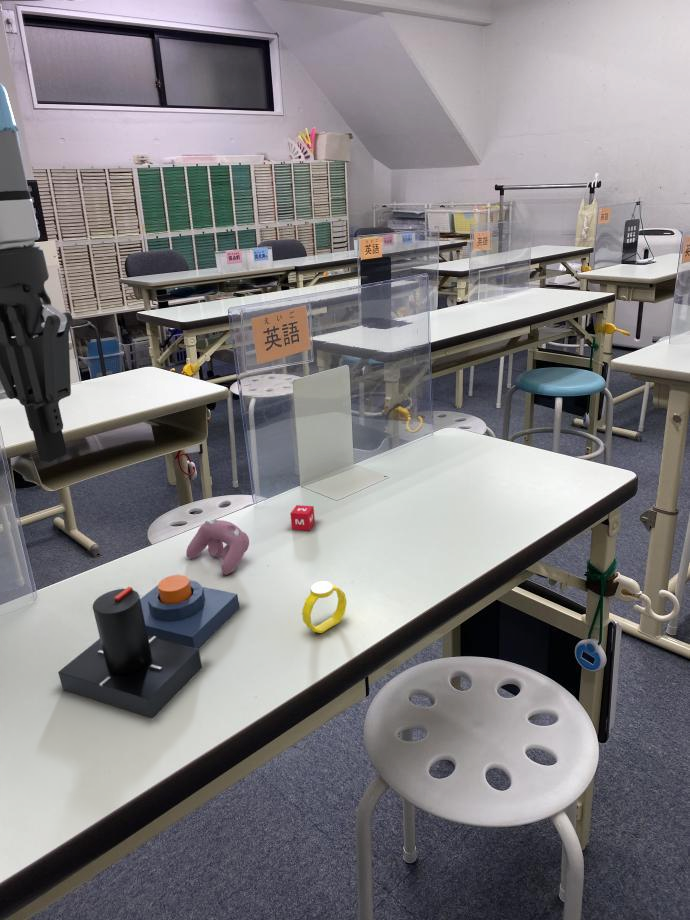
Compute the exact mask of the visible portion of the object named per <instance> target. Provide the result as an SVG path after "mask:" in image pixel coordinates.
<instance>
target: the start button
mask: <svg viewBox="0 0 690 920" xmlns="http://www.w3.org/2000/svg"><path fill="white" fill-rule="evenodd" d="M157 585H158V590H159V595H160V600H161V602H162V603H165V604H175V603H180V602H183V601H185V600H187V599H188V598H190V597H191V595H192V592H191V586H190V578H189V577H188V576H187V575H184V574H173V575H169V576H167V577H164V578H162V579H161V580H160V581H159V582H158V584H157Z"/></svg>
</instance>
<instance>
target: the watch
mask: <svg viewBox="0 0 690 920" xmlns="http://www.w3.org/2000/svg"><path fill="white" fill-rule="evenodd" d="M334 592H336V595H337V599H338V600H337V605H336V609H335V610H334V613H333V614H332V615H331V617H329V618H327V619H326V620H324V621H323V622H321V623H320V624H318V625H313V623H312V615H311V614H312V611H313V608H314V605H315V604H316V602H317V601H318V600H319V599H323V598H327V597H329V596H331V595H332V594H333V593H334ZM347 602H348V601H347V598H346V594H345V592H344V591H343V590H342V589H340V587H338V586H336V585H334V584H332V583H331V582H330V581H327V580H321V581H317V582H314V583H313V584H312V585H311V586H310V593H309V595H307V598H306V599H305V601H304V604H303V607H302V611H301V613H302V614H301V616H302V621H303V623H304V624H305V625H306V626H307V628H308V629H310V630H311V631H313V632H314V633H318V634H323V633H325V632H326V631H327V630H329V629H331V628H332V627H335V625H337V624H340V622H341V621H342V619H343V617H344V615H345V613H346V608H347Z"/></svg>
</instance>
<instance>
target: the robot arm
mask: <svg viewBox="0 0 690 920" xmlns="http://www.w3.org/2000/svg"><path fill="white" fill-rule="evenodd" d="M20 141H21V140H20V137H19V127H18V125H17V123H16V120H15V117H14V113H13V110H12V106H11V103H10V98H9V96H8V92H7V90H6V87H5V86H4V85H3V84H2V82H0V383H1V385H2V388H3V390H4V392H5V395H6V396H7V398H8V399H9V400H14V399H15V400H17V401H18V402H19V403H20V405H21V406H23V408H24V411H25V415H26V419H27V423H28V427H29V429H30V431H31V432H32V434H33V438H34V442H35V446H36V451H37V455H38V458H39V461H40V462H45V463H50V462H54V461H55V460H57V459H60V458H61V457H64V456H66V455H68V451H67V446H66V443H65V438H64V433H63V430H64V421H63V418H62V413H61V409H60V405H59V403H60V401H61V400H63V399H65V398H69V397H70V396H71V394H72V388H71V387H72V386H71V385H72V384H71V360H70V359H71V357H70V331H71V327H72V323H73V319H74V318H73V315H72V314H71V312H69V311H63V312H60V311H59V310H58V309H56V308H55V307H54V306H52V301H51V297H50V296H49V294H48V293H47V291H46V289H45V283H46V282H47V281H48V280H49V277H50V273H49V270H48V266H47V261H46V257H45V252H44V249H43V248H41V246H40V245H36V241H38V240H39V239H40V238H41V236H40V231H39V227H38V223H37V218H36V213H35V208H34V204H33V200H32V196H31V192H30V189H29V186H28V181H27V180H28V179H27V174H26V169H25V165H24V157H23V153H22V148H21V142H20Z"/></svg>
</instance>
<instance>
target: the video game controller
mask: <svg viewBox="0 0 690 920" xmlns="http://www.w3.org/2000/svg"><path fill="white" fill-rule="evenodd" d="M224 544H226V545H225V546H224ZM249 546H250V538H249V536H248V534H247V533H246V532H244V531H242V529H241V528H240V527H239V526H238V525H236V524H234V523H233V522H231V521H227V520H223V519H222V520H221V519H211V520H205V521H204V523H203V524H201V525H200V527H199V529H198V530H197V532H196V533H195V535H194V536H193V538H192V540H190V542H189V544H188V546H187V547H186V548H187V549H186V557H187V558H188V559H191V560H192V559H194V558H197V557H198V556H199V555H200V554H201V553H203V551H204V550H205V549H206V548H207V547H208V554H209V555H210V556H213V557H220V556H221V559H222V564H221V567H220V568H221V573H222V574H223V575H227V576H228V575H229V574H231V573H232V572H234V571H235V570H236V569H237V568H238V566H239V565H240V563H241V562H242V560H243V557H244V555H245V553H246V552H247V551H248V549H249Z"/></svg>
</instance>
